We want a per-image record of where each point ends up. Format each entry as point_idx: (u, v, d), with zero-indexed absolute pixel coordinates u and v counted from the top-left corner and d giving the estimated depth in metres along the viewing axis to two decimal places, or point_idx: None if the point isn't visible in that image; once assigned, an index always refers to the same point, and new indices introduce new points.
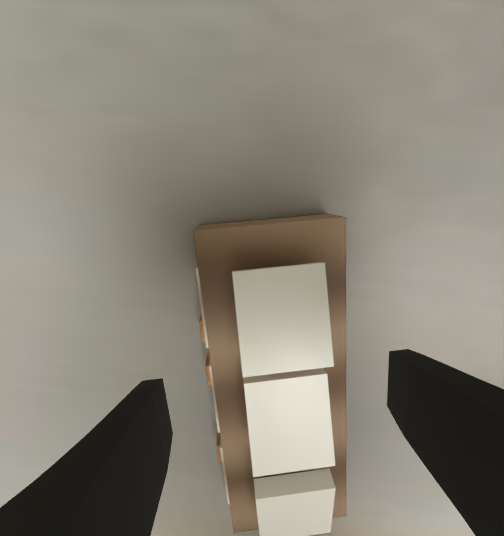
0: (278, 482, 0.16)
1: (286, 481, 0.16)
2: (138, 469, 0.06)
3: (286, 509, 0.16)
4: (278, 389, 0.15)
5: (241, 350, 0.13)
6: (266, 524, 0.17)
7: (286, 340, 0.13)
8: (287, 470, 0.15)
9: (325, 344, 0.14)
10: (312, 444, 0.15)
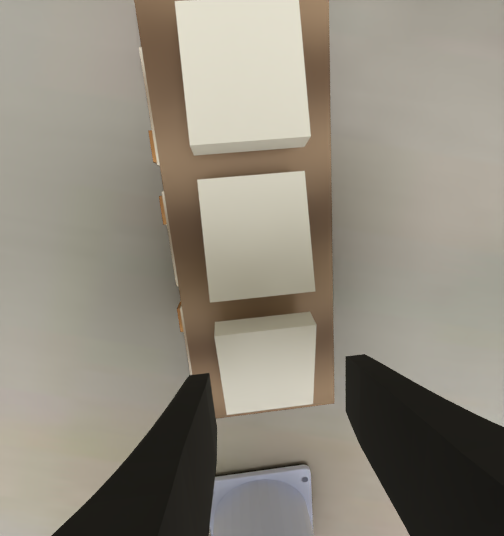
0: (245, 323, 0.13)
1: (255, 322, 0.13)
2: (200, 461, 0.06)
3: (256, 357, 0.13)
4: (242, 188, 0.12)
5: (187, 107, 0.10)
6: (232, 382, 0.13)
7: (247, 97, 0.10)
8: (254, 295, 0.12)
9: (299, 106, 0.10)
10: (286, 262, 0.12)
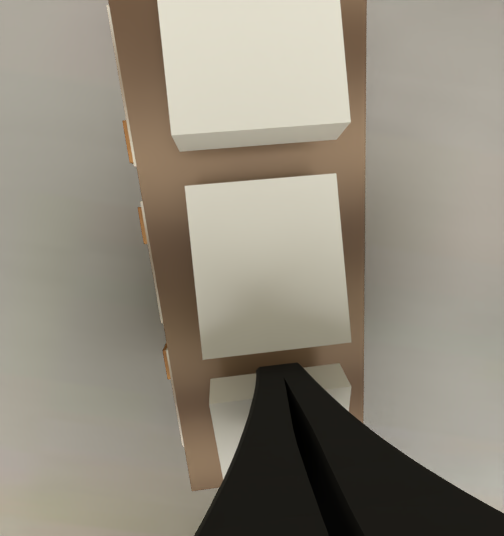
0: (252, 382, 0.09)
1: None
2: None
3: None
4: (248, 198, 0.08)
5: (168, 79, 0.07)
6: None
7: (257, 64, 0.07)
8: (265, 349, 0.08)
9: (334, 78, 0.07)
10: (310, 302, 0.08)
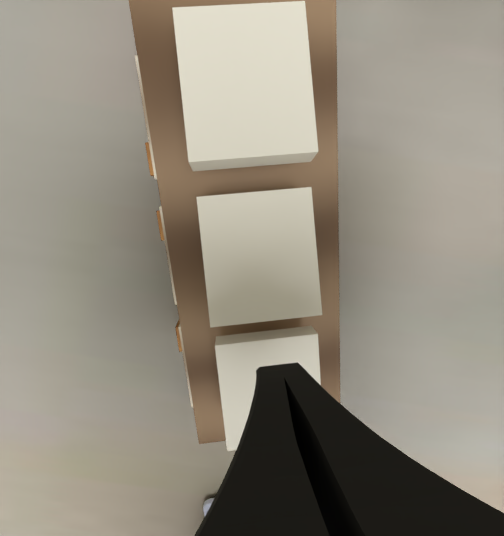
0: (246, 336, 0.13)
1: (256, 335, 0.13)
2: None
3: None
4: (244, 206, 0.11)
5: (186, 121, 0.09)
6: (233, 404, 0.12)
7: (250, 110, 0.10)
8: (257, 320, 0.11)
9: (306, 119, 0.10)
10: (291, 284, 0.11)
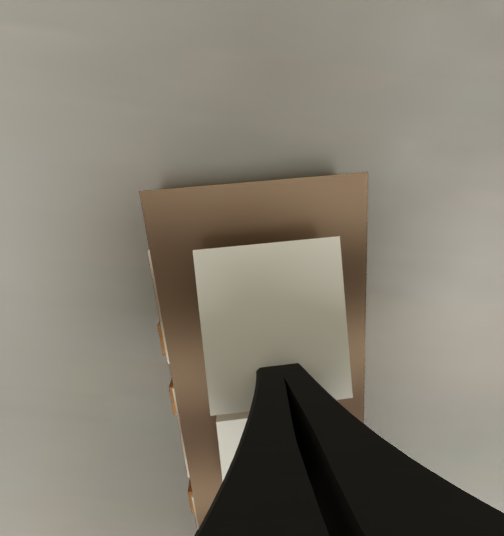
0: None
1: None
2: None
3: None
4: None
5: (208, 374, 0.08)
6: None
7: (278, 357, 0.09)
8: None
9: (339, 363, 0.09)
10: None
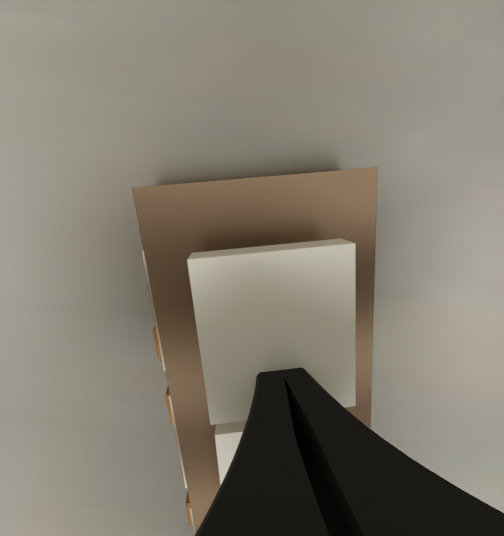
0: None
1: None
2: None
3: None
4: None
5: (207, 386, 0.08)
6: None
7: (281, 369, 0.08)
8: None
9: (344, 374, 0.08)
10: None
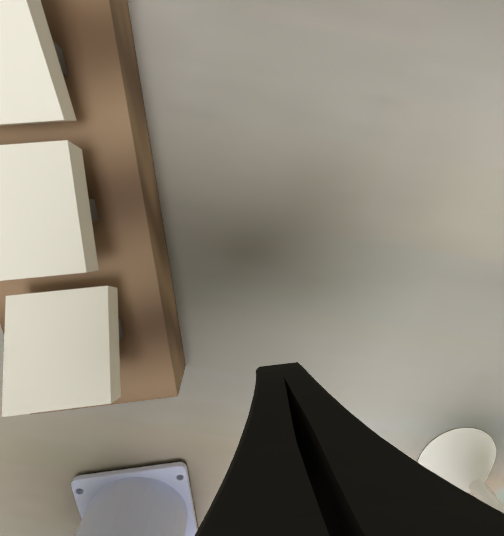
0: None
1: None
2: None
3: (45, 325, 0.12)
4: None
5: None
6: (15, 360, 0.12)
7: None
8: (18, 277, 0.11)
9: (44, 85, 0.10)
10: (51, 241, 0.11)
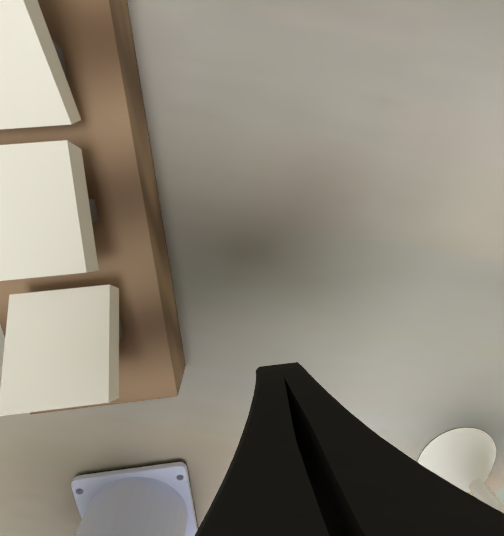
0: None
1: None
2: None
3: (46, 323, 0.12)
4: None
5: None
6: (15, 358, 0.12)
7: None
8: (18, 277, 0.11)
9: (50, 91, 0.10)
10: (51, 241, 0.11)
